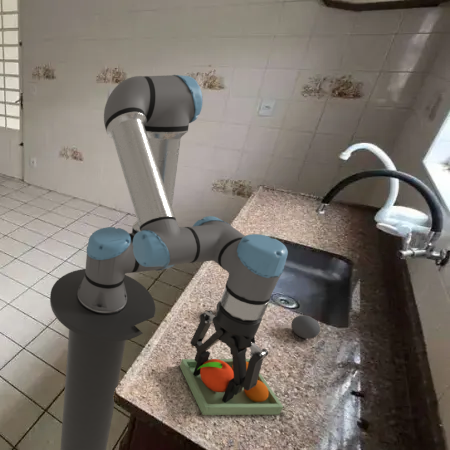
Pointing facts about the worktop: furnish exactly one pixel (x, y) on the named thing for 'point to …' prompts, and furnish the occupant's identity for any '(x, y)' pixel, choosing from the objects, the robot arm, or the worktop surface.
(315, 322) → the grey ball
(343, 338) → the worktop surface
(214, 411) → the tray
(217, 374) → the clementine
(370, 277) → the worktop surface
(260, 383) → the orange ball
